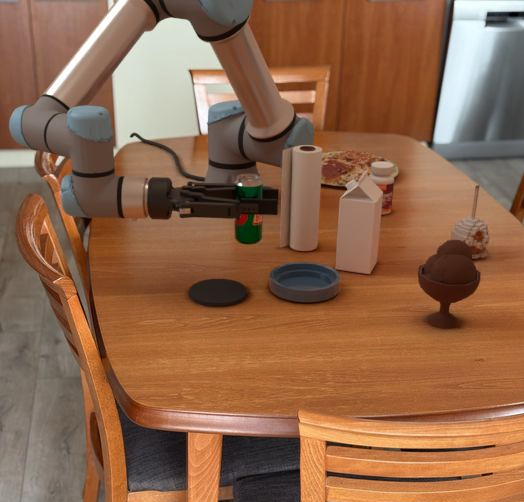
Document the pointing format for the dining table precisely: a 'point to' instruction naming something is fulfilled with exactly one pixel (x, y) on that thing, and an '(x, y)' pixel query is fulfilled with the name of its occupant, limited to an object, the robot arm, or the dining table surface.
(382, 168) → the pill bottle
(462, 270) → the ice cream bowl
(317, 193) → the paper towel roll
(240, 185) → the soda can
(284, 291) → the dish
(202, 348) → the dining table surface
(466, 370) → the dining table surface
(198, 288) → the coaster
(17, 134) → the robot arm
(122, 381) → the dining table surface
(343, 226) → the milk carton
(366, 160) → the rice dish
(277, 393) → the dining table surface
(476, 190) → the candy apple
